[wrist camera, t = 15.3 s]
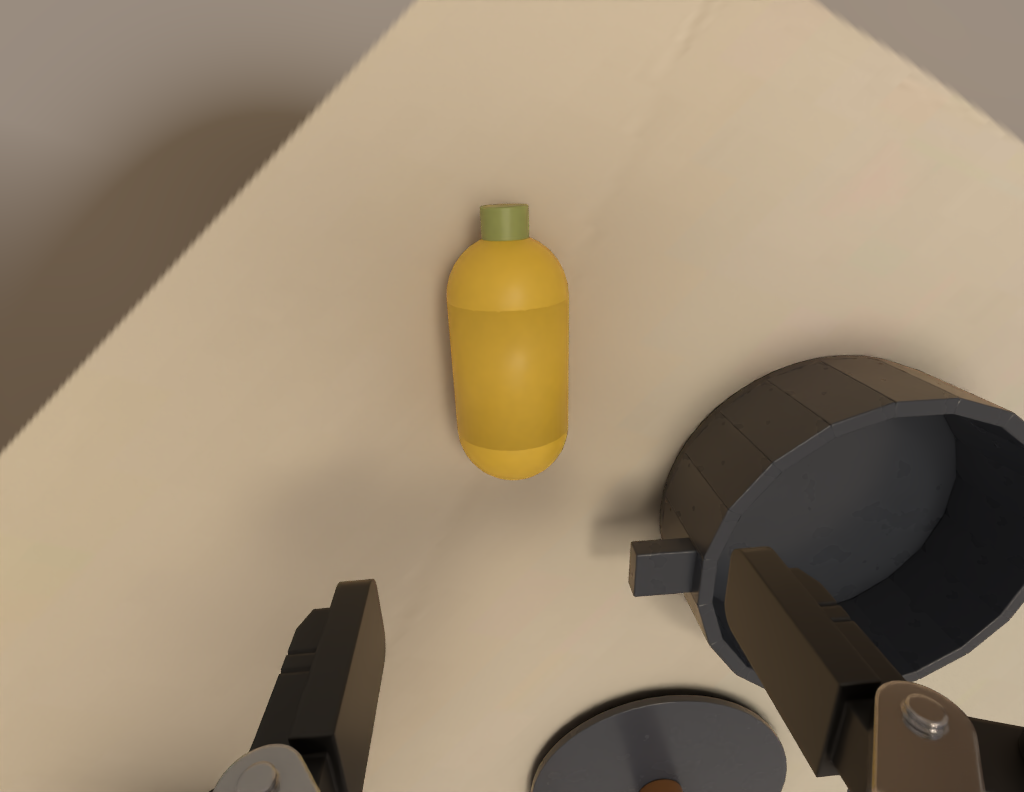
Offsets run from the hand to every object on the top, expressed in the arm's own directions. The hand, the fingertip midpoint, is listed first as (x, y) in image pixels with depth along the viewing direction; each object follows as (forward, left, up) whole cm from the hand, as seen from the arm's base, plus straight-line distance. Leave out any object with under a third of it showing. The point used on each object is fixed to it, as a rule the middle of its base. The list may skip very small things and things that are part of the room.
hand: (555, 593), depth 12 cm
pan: (+16, -8, -14) cm, 23 cm away
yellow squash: (0, +2, -14) cm, 14 cm away
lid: (+9, -30, -14) cm, 34 cm away
